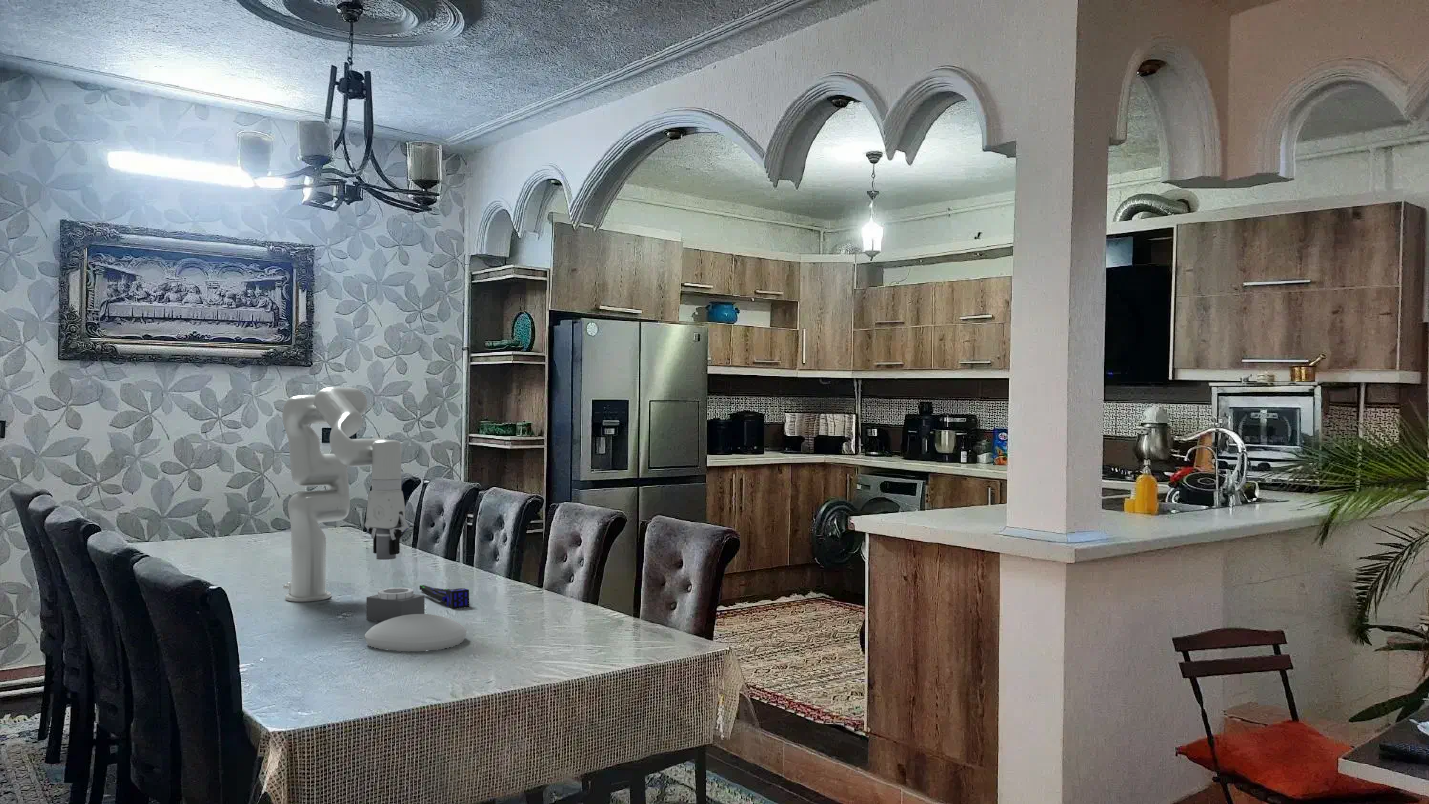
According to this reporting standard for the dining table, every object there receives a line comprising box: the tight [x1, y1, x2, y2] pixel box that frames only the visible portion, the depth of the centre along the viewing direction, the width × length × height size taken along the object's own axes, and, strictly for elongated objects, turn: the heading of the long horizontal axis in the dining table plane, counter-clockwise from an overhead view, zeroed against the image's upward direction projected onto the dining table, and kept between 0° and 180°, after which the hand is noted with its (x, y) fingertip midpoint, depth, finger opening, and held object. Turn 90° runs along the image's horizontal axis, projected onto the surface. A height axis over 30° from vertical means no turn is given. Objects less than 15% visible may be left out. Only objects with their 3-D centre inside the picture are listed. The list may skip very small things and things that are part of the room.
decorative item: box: [364, 613, 467, 652], centre depth 247 cm, size 24×7×20 cm
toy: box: [419, 584, 470, 610], centre depth 300 cm, size 8×5×30 cm
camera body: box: [365, 587, 426, 623], centre depth 273 cm, size 12×9×8 cm
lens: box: [375, 528, 397, 561], centre depth 273 cm, size 5×5×8 cm
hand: (386, 552), depth 273 cm, fingers closed on lens, 5 cm apart
